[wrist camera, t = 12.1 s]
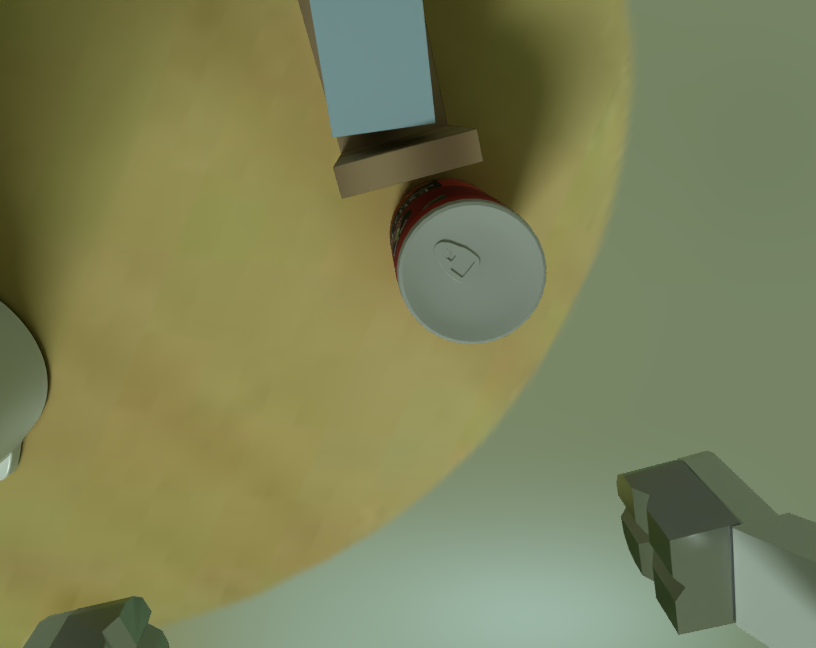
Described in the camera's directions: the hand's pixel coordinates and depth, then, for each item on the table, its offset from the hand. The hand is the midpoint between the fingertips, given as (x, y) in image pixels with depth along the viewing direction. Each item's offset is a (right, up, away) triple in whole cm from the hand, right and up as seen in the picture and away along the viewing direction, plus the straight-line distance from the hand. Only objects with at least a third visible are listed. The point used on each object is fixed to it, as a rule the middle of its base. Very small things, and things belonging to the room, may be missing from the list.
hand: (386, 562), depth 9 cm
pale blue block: (-2, +21, +21) cm, 30 cm away
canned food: (+3, +10, +30) cm, 32 cm away
